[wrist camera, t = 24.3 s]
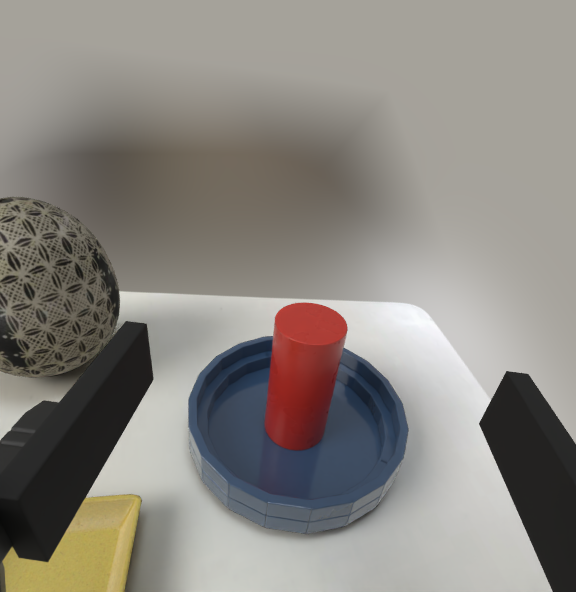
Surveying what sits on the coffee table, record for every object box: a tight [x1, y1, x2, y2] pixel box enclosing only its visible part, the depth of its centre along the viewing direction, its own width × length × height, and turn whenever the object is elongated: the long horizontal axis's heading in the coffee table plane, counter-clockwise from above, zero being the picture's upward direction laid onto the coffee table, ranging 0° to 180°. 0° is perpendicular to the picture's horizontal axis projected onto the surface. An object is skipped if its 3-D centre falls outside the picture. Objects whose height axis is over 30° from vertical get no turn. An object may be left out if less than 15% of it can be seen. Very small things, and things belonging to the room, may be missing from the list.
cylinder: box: [265, 303, 347, 450], centre depth 27 cm, size 5×5×10 cm
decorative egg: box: [0, 197, 120, 377], centre depth 30 cm, size 12×12×15 cm
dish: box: [188, 336, 408, 534], centre depth 29 cm, size 16×16×4 cm
